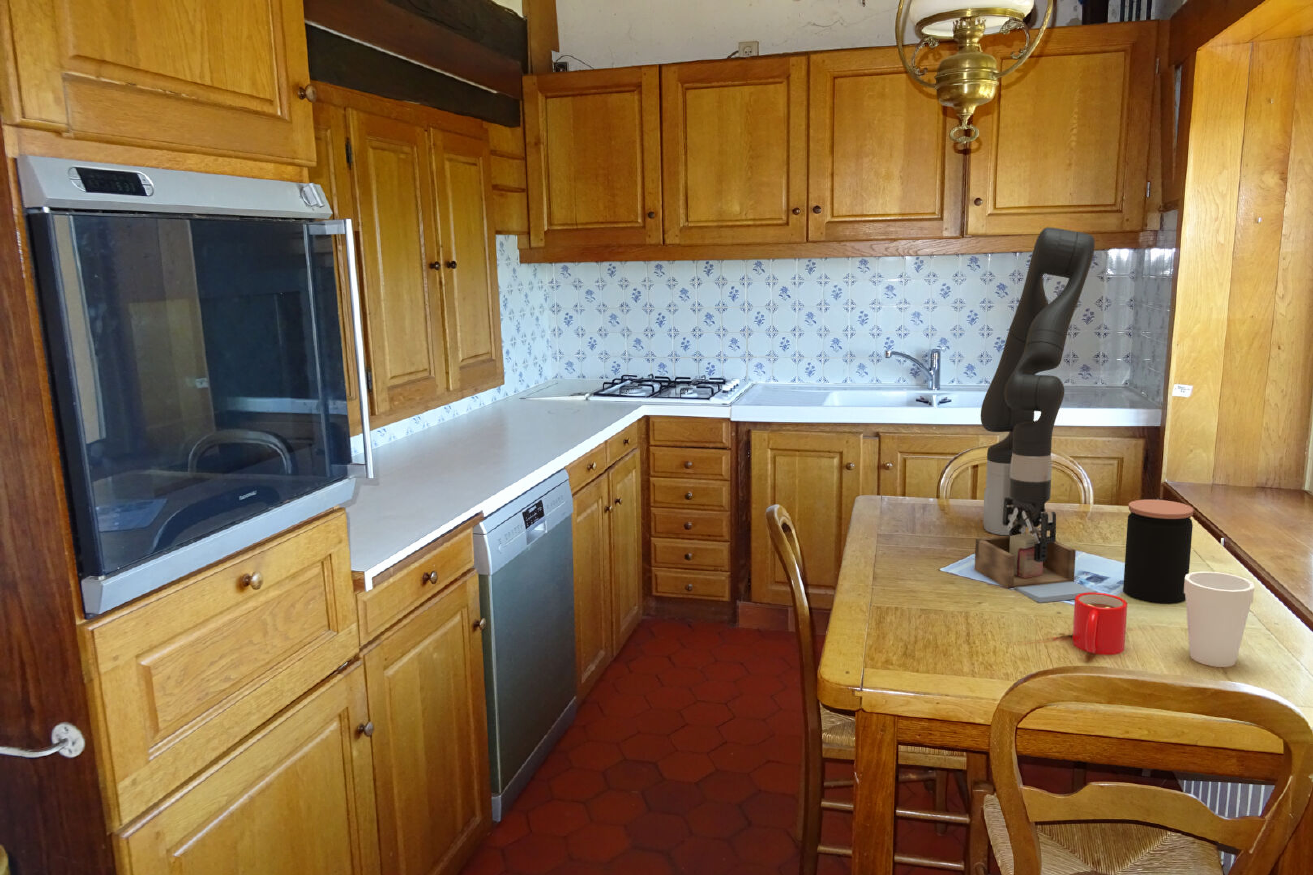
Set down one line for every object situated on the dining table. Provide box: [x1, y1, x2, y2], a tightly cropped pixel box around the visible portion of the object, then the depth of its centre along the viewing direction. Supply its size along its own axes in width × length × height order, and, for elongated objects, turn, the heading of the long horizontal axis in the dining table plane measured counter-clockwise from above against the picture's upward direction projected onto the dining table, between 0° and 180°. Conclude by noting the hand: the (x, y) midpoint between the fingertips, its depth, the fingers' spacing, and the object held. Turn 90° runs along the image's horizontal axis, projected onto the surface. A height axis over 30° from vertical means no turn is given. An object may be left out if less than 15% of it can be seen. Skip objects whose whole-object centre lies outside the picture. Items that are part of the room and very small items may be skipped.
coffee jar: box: [1122, 499, 1195, 605], centre depth 171 cm, size 11×11×18 cm
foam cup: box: [1184, 570, 1255, 668], centre depth 145 cm, size 10×9×13 cm
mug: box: [1071, 592, 1128, 656], centre depth 150 cm, size 8×12×8 cm, turn 147°
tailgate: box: [1013, 581, 1098, 604], centre depth 174 cm, size 1×12×8 cm
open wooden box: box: [974, 533, 1077, 590], centre depth 184 cm, size 12×14×8 cm
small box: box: [1009, 532, 1043, 578], centre depth 183 cm, size 5×4×8 cm
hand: (1027, 554), depth 182 cm, fingers open, 8 cm apart
